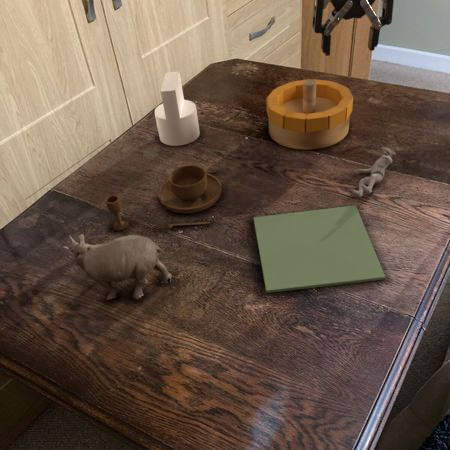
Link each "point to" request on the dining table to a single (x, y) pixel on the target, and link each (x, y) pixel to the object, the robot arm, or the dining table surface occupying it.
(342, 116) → the ring
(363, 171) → the soldier figure
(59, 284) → the dining table surface
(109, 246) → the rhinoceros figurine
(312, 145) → the ring stand
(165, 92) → the base with upright slab
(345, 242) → the mat
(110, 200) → the place setting
